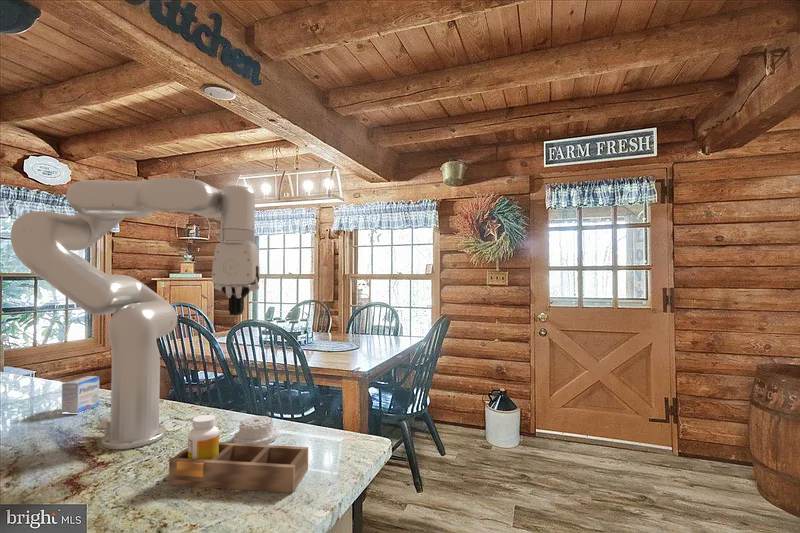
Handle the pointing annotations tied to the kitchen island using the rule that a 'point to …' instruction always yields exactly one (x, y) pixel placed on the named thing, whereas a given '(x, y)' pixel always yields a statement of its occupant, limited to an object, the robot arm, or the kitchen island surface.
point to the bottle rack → (243, 468)
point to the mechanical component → (256, 431)
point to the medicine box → (80, 394)
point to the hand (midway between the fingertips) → (236, 314)
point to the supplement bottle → (203, 438)
